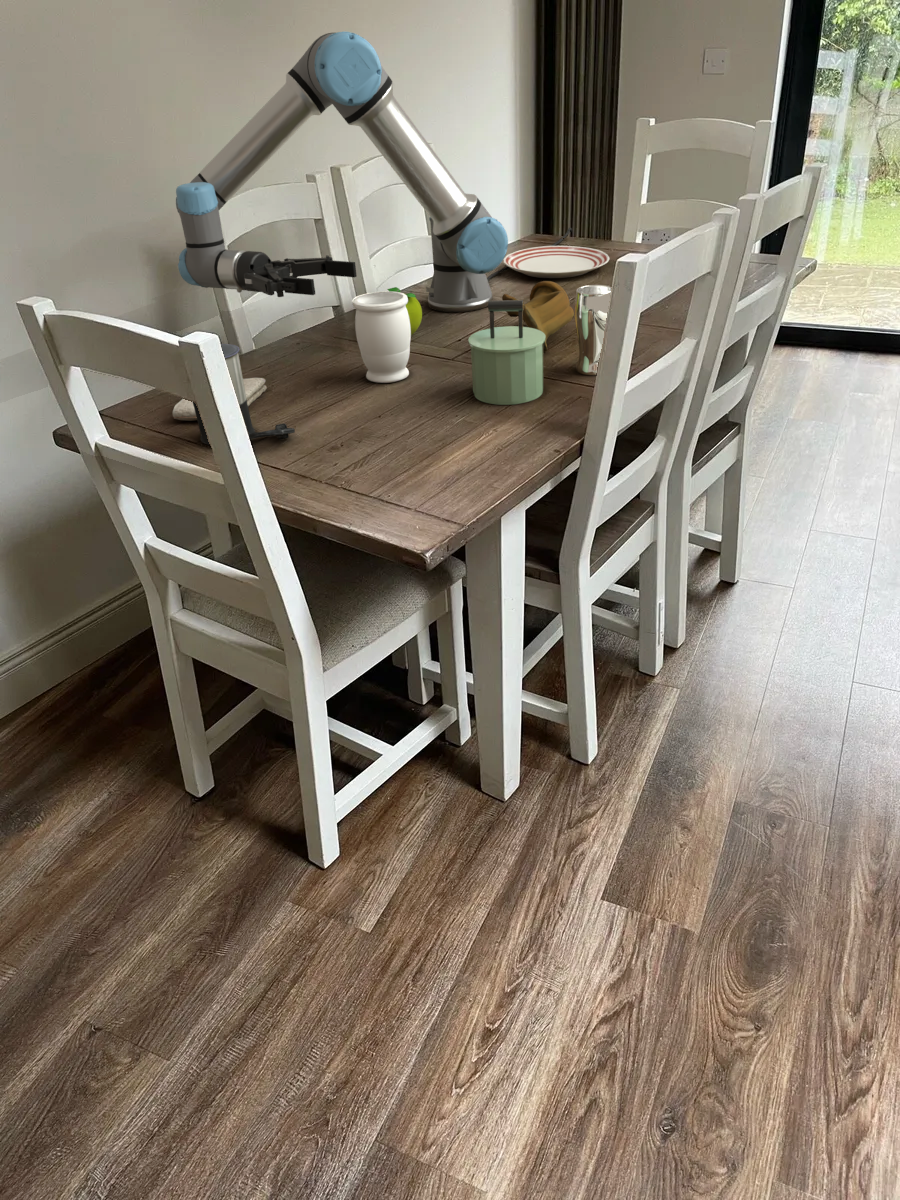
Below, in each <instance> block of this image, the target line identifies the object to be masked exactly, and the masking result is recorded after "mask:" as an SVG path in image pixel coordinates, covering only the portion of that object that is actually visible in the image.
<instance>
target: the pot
mask: <svg viewBox="0 0 900 1200" xmlns="http://www.w3.org/2000/svg"><path fill="white" fill-rule="evenodd" d="M470 357H471V358H470V359H471V378H472V392H473V393H472V394H473V396H474V398H475V399H476V400H478V401H480V402H482V403H485V404H491V405H497V406H498V405H501V406H502V405H503V406H506V405H518V404H525V403H528V402H532V401H535V400H536V399H539V398H540V397H541V396H542V395H543V394H544V387H545V385H544V379H545V378H544V353H543V344H541V345H539V346H537V347H535V348H532V349H528V350H524V351H518V352H505V353H497V352H486V351H481V350H477V349H475V348H473V347H471V346H470Z"/></svg>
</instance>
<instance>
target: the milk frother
mask: <svg viewBox="0 0 900 1200" xmlns="http://www.w3.org/2000/svg"><path fill="white" fill-rule="evenodd" d="M220 344H221V347H222V351H223V354H224V357H225V360H226V363H227V367H228V370H229V373H230V377H231V380H232V383H233V386H234V389H235V392H236V396H237V399H238V402H239V405H240V408H241V411H242V413H243V416H244V420H245V423H246V426H247V429H248V432H249V437H250V438H249V439H260V438H268V437H274V436H275V437H276V438H277V440H278V441H282V440H287V439H289V437H290V436H289V434H290V435H291V434H294V433H296V431H295V428H294V427H288V426H287V424H286V423H279V424H275V426H274V428H275V429H267V430H264V431H258V432H256V430H255V428H254V426H253V422H252V418H251V413H250V409H249V406H248V404H247V398H246V393H245V388H244V382H243V379H244V376H243V371H242V366H241V361H240V355H239V352H240V347H239V346H237V345H235V344H233V343H232V344H230V343H220ZM192 402H193V401H192ZM193 406H194V409H195V413H196V417H197V420H196V421H197V425H198V428H199V433H200V442H202V443H203V444H205V445H208V446H210V445H209V442H208V439H207V435H206V432H205V429H204V426H203V423H202V420H201V417H200V414H199V411H198V408H197V406H196V404H195V403H194V402H193Z"/></svg>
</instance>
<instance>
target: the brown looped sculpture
mask: <svg viewBox="0 0 900 1200" xmlns="http://www.w3.org/2000/svg"><path fill="white" fill-rule="evenodd" d="M501 299H502V300H501V301H506V300H518V299H517V298H515V297H514V296H511V295H509V294H507V293H503V294H502V296H501ZM505 312H506V313H507V315H508V316H509V317H510V318H518V311H505ZM574 317H575V309H574V308H573V307H572V306H571V303H570V299H569V296H568V294H567V292H566V291H565V289H564V288H563V287H562V285H559V283H557V282H554V281H551V280H543V281H542V280H541V281H539V282H537V283H535V284H534V285H533V286H532V289H531V290H530V293H529V301H527V302H526V303H524V310H523V322H524V323H525V325H526V327H529V328H534V329H537V330H540V331H542V332H543V333H544V334H545V336H546V340H545V342H544V343H543V354H546V352H547V351H548V344H547V340H548V339H549V338H550V336H552V335H553V334H555V333H557V332H558V331H559V330H561V328H564V327H565V326H566V325H568V324H569V323H570V322H571V321H572V320H573V319H574Z"/></svg>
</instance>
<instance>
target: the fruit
mask: <svg viewBox="0 0 900 1200" xmlns="http://www.w3.org/2000/svg"><path fill="white" fill-rule="evenodd" d="M386 290H387V291H392V292H400V293H401V289H400V288H399V287H397V286H394V287H391V288H386ZM403 293H404V294H406V295H407V296H408V297H407V298H408V302H407V304H406V308H407V311H408V315H409V320H410V327H411V336H413V335H414V334H415V333H416V331H417V330H418V329H419V327H420V325H421V323H422V319H423V308H422V306H421V303H420V302H419V300H418V298H417V296H416V294H415V293H413V292H407V293H405V292H403Z"/></svg>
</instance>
